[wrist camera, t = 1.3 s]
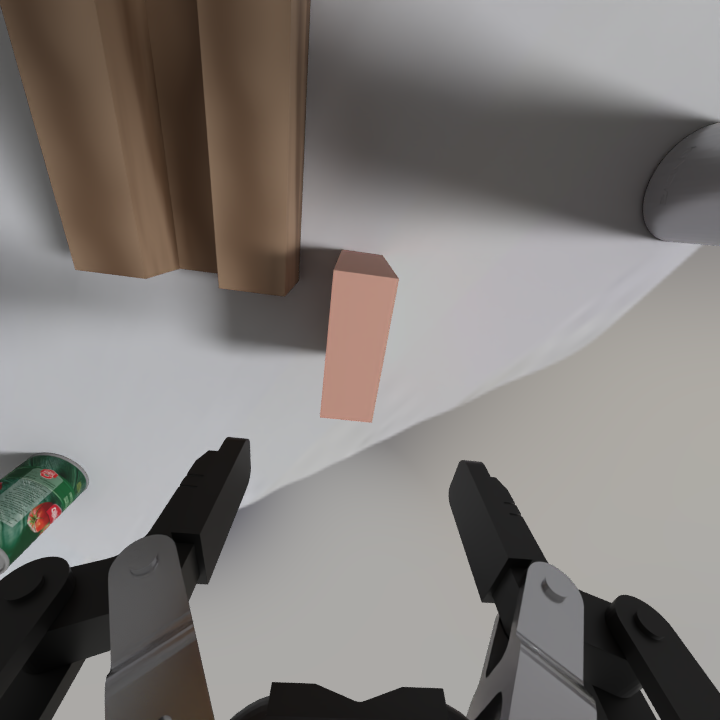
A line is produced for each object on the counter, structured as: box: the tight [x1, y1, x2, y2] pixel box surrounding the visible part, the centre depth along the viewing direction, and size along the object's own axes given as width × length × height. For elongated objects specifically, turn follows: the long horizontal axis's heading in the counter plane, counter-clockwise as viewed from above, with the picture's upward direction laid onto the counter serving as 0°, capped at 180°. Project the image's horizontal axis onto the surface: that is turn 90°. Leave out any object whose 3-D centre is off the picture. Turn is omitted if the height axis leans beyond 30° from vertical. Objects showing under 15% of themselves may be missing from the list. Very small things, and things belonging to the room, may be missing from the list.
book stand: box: [0, 0, 311, 297], centre depth 22 cm, size 16×20×6 cm
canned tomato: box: [0, 453, 89, 574], centre depth 36 cm, size 8×8×11 cm
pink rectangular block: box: [320, 250, 399, 423], centre depth 26 cm, size 4×11×12 cm, turn 172°
